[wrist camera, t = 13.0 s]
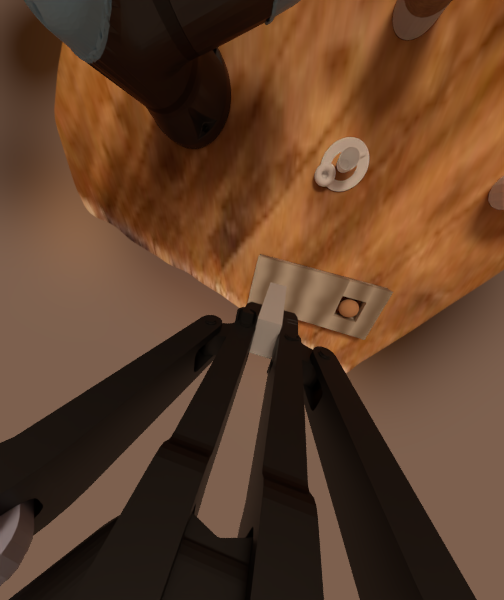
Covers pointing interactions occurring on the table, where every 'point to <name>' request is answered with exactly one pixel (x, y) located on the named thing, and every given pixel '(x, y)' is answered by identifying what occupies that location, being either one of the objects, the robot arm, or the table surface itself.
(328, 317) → the box with square hole
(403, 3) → the coffee cup
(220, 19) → the robot arm
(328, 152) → the teacup and saucer
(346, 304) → the ball
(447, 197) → the table surface
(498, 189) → the white cup
